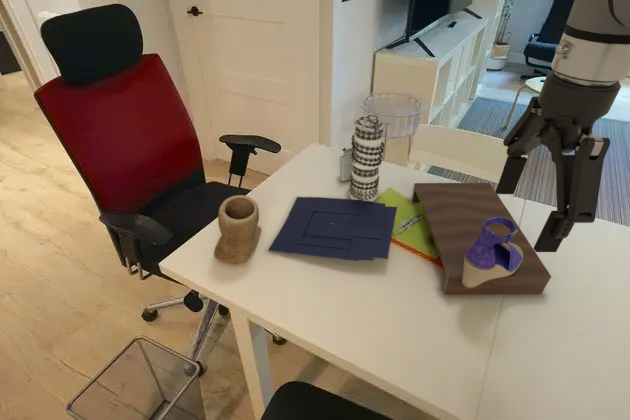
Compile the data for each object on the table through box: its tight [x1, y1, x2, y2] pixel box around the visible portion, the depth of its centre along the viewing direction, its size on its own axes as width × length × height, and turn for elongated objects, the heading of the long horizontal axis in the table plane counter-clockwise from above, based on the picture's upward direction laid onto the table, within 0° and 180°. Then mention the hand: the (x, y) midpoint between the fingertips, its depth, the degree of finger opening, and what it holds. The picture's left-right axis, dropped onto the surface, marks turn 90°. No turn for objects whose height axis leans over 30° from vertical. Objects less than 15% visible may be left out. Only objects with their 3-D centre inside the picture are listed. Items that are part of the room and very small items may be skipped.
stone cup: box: [213, 194, 262, 265], centre depth 92 cm, size 15×12×15 cm
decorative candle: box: [348, 114, 386, 202], centre depth 106 cm, size 9×9×25 cm
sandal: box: [462, 217, 523, 289], centre depth 78 cm, size 8×20×15 cm, turn 118°
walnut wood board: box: [411, 182, 552, 296], centre depth 96 cm, size 36×22×6 cm, turn 0°
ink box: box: [339, 147, 353, 182], centre depth 119 cm, size 12×2×12 cm, turn 115°
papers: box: [268, 196, 398, 262], centre depth 100 cm, size 24×30×4 cm
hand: (522, 219), depth 56 cm, fingers open, 13 cm apart
